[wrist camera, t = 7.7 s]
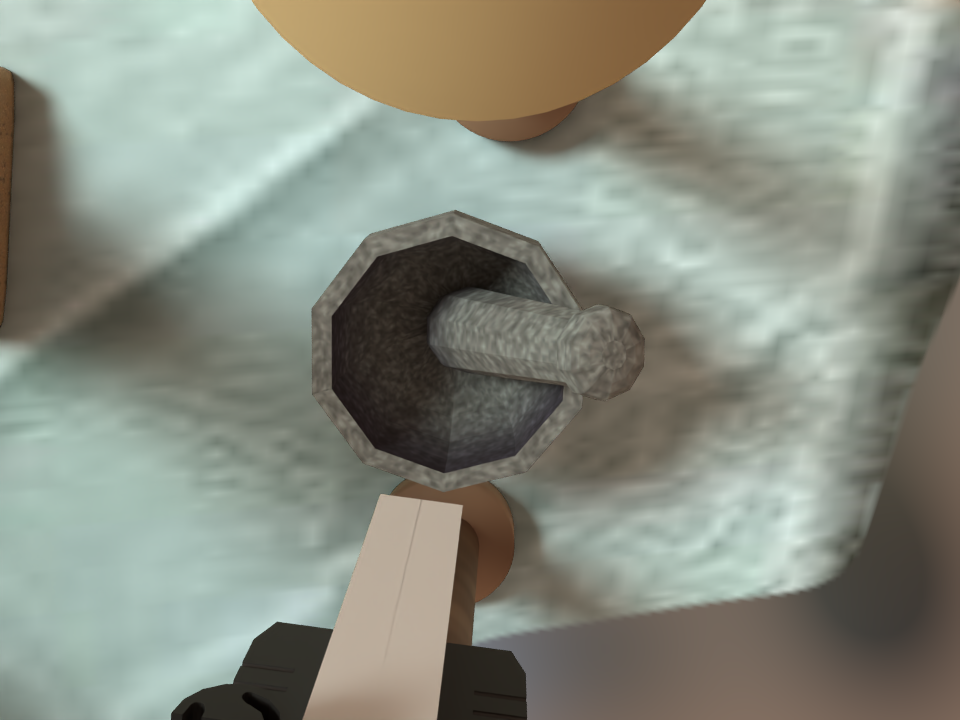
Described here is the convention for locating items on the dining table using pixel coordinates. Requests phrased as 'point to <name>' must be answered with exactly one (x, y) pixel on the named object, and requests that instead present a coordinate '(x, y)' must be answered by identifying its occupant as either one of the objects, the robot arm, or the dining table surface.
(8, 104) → the candle holder
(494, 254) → the mortar and pestle
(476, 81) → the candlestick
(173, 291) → the dining table surface
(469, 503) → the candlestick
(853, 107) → the dining table surface
